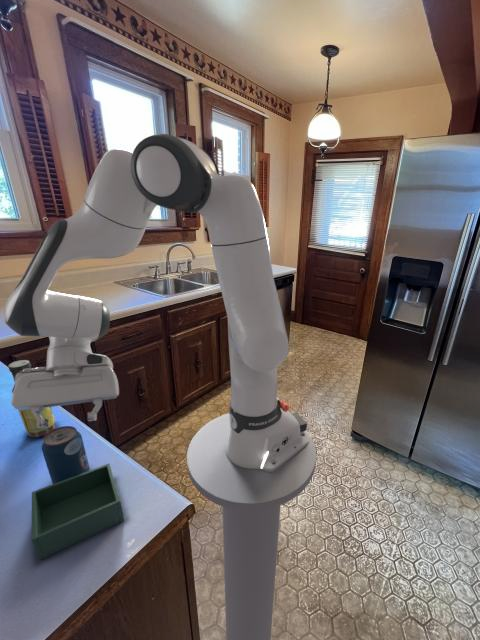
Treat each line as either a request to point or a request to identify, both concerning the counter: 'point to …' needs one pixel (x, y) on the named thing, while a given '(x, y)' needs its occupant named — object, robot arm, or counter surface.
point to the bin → (74, 510)
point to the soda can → (64, 453)
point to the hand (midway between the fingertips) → (67, 424)
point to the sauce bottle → (26, 415)
